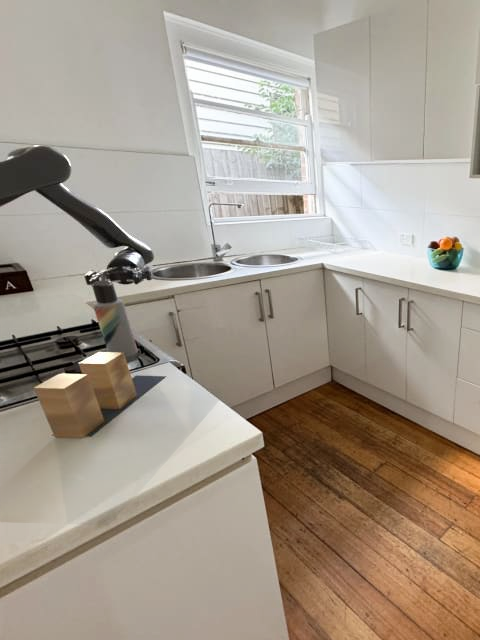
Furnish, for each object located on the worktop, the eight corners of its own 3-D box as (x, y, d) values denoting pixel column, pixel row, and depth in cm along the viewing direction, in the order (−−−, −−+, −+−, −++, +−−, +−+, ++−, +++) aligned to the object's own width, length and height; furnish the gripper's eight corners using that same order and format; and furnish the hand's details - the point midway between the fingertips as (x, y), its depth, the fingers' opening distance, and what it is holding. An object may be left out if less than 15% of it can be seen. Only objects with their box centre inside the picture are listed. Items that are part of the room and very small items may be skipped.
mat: (92, 438, 67) (91, 436, 67) (52, 437, 67) (51, 435, 67) (167, 377, 87) (166, 376, 87) (136, 376, 87) (136, 375, 87)
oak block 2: (120, 409, 75) (105, 363, 71) (94, 408, 75) (78, 363, 71) (137, 395, 79) (123, 352, 75) (113, 395, 79) (98, 351, 75)
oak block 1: (83, 438, 67) (63, 388, 62) (54, 437, 66) (33, 387, 62) (104, 421, 71) (87, 374, 67) (78, 420, 71) (59, 373, 67)
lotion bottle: (131, 353, 98) (108, 277, 90) (144, 358, 96) (122, 280, 88) (106, 362, 93) (80, 282, 85) (120, 367, 91) (94, 286, 83)
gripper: (91, 256, 105) (75, 270, 92) (151, 253, 111) (144, 265, 98) (99, 283, 109) (85, 299, 95) (158, 278, 115) (152, 293, 101)
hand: (115, 282), depth 97 cm, fingers open, 8 cm apart
